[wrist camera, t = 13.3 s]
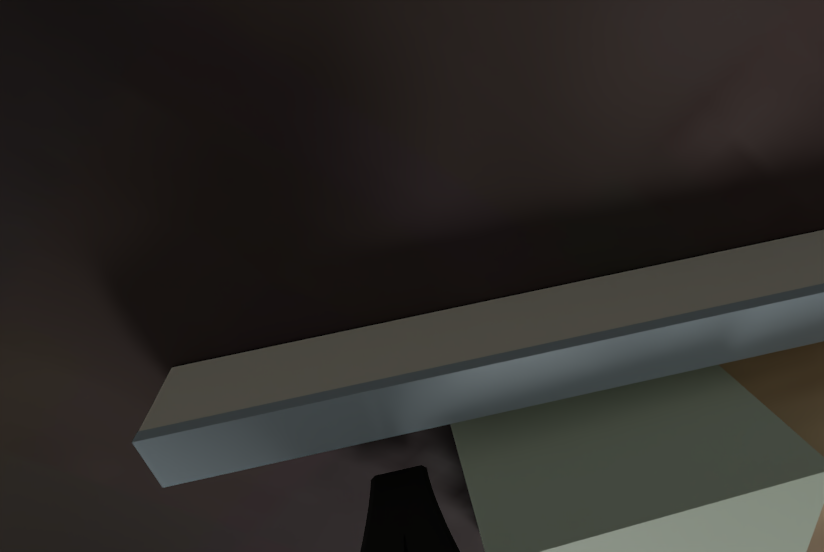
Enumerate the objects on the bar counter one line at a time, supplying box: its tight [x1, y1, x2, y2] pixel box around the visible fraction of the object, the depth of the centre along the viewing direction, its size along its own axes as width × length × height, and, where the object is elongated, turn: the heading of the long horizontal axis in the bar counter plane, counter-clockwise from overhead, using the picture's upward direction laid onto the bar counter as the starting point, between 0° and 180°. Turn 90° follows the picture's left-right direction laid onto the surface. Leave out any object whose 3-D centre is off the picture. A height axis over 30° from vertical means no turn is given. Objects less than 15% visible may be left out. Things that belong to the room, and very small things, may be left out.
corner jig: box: [132, 230, 824, 488], centre depth 11 cm, size 10×20×2 cm, turn 99°
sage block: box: [450, 365, 824, 552], centre depth 11 cm, size 6×6×4 cm
